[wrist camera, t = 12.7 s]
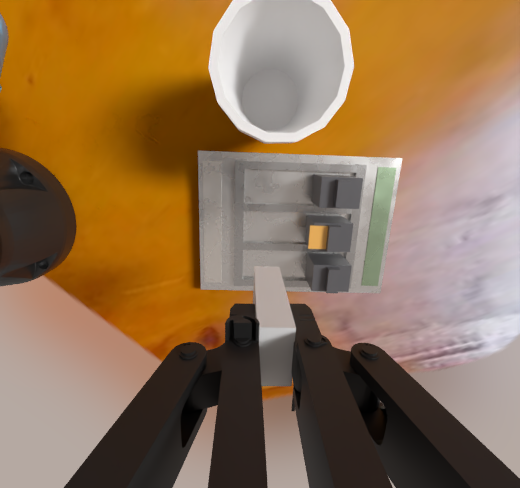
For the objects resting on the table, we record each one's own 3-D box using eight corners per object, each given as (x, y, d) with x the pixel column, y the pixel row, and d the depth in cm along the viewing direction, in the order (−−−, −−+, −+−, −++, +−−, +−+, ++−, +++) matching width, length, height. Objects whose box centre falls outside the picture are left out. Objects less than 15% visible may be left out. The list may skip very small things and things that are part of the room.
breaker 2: (301, 240, 35) (309, 253, 30) (303, 214, 34) (311, 224, 29) (339, 241, 35) (352, 254, 30) (342, 216, 34) (356, 225, 29)
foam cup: (330, 108, 32) (380, 79, 20) (264, 165, 34) (272, 171, 21) (276, 29, 30) (293, -60, 18) (207, 93, 32) (178, 53, 19)
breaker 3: (305, 276, 36) (313, 294, 31) (307, 252, 35) (315, 267, 31) (338, 277, 36) (350, 295, 32) (340, 253, 35) (354, 268, 31)
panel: (202, 284, 38) (199, 291, 36) (200, 150, 33) (196, 150, 31) (375, 288, 38) (382, 295, 36) (395, 158, 34) (404, 158, 32)
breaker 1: (311, 201, 34) (321, 209, 29) (313, 174, 33) (324, 177, 28) (346, 202, 34) (361, 210, 29) (350, 175, 33) (366, 178, 28)
